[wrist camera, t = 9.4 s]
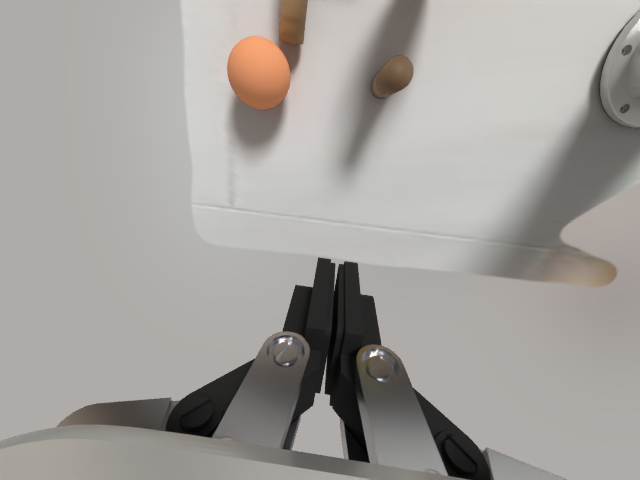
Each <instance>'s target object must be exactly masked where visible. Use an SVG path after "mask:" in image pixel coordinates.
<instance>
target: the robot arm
mask: <svg viewBox="0 0 640 480" xmlns="http://www.w3.org/2000/svg"><path fill="white" fill-rule="evenodd" d="M600 96H601V100H602V105H603V107H604V109H605V111H606V112H607V114H608V115H609V116H610V117H611V118H612V119H613V120H614V121H616V122H618V123H619V124H621V125H624V126H629V127H636V128H640V11H638V12H637V14H636V15H635V16H634V17H633V18H632V19H631V20H630V22H629V23H628V24H627V25H626V26H625V28H624V29H623V30H622V32H621V33H620V35H619V36H618V38H617V39H616V41H615V42H614V44H613V46H612V48H611V50H610V52H609V54H608V56H607V59H606V62H605V65H604V67H603V71H602V76H601V81H600ZM334 279H335V263H331V259H325V258H318V263H317V268H316V274H315V279H314V285H313V287H306V286H299V285H296V286H295V289H294V292H293V296H292V299H291V303H290V307H289V310H288V313H287V317H286V321H285V324H284V328H283V331H282V332H279V333H276V334H273V335H272V336H270V337H269V338H268V339H267V340H266V341H265V342H264V344H263V346H262V347H261V349H260V351H259V353H258V355H257V356H256V358H255V359H253V360H252V361H249V362H248V363H246V364H244V365H242V366H240V367H238V368H237V369H235V370H233V371H231V372H229V373H227V374H225V375H224V376H222V377H220V378H218V379H216V380H215V381H213V382H211V383H209V384H207V385H205V386H203V387H202V388H200V389H198V390H196V391H194V392H192V393H191V394H189V395H187V396H186V397H185V398H183V399H182V400H181V401H172V400H171V398H159V399H147V400H135V401H123V402H112V403H111V402H110V403H98V404H93V405H89V406H85V407H83V408H81V409H79V410H77V411H75V412H73V413H72V414H70V415H69V416H68V417H66V418H65V419H64V420H63V421H61V422H60V424H59V425H58V426H57V427H55V428H50V429H45V430H39V431H34V432H30V433H27V434H23V435H19V436H15V437H11V438H8V439H5V440H2V441H0V480H566V479H565V478H563V477H560V476H558V475H555V474H553V473H550V472H547V471H545V470H542V469H540V468H537V467H535V466H532V465H530V464H527V463H525V462H522V461H520V460H517V459H514V458H512V457H509V456H507V455H505V454H502V453H500V452H497V451H495V450H492V449H489V448H486V449H485V450H481V449H479V448H478V447H477V445H476V444H474V442H473V441H472V440H471V439H470V438H469V437H468V436H467V435H466V434H464V433H463V432H462V431H461V430H460V429H459V428H458V427H457V426H455V425H454V424H453V423H452V422H451V421H450V420H449V419H448V418H446V417H445V416H444V415H443V414H442V413H441V412H440V411H439V410H437V409H436V408H435V407H434V406H433V405H432V404H431V403H430V402H429V401H427V400H426V399H425V398H424V397H423V396H422V395H421V394H420V393H418V392H417V391H416V390H415V389H414V388H413V387H412V385H411V382H410V380H409V377H408V375H407V372H406V370H405V367H404V365H403V363H402V361H401V359H400V358H399V357H398V356H397V355H396V354H395V353H394V352H393V351H391V350H390V349H388V348H386V347H384V346H382V345H381V339H380V334H379V328H378V321H377V315H376V309H375V303H374V298H373V296H368V295H361V294H360V285H359V273H358V264H357V263H353V262H346V261H345V262H344V265H343V264H339V267H338V273H337V279H336V284H335V290H334ZM326 359H327V367H326V381H325V382H326V383H325V394H328V395H330V406H333V409H334V410H335V412H336V413H337V414H338V416H339V417H340V418H341V419H340V428H341V437H342V445H343V453H344V459H341V458H334V457H328V456H322V455H316V454H310V453H303V452H298V451H291V450H292V447H293V443H294V439H295V436H296V433H297V429H298V425H299V422H300V417H301V414H302V413H304V412H305V411H306V410H307V409H309V408H310V407H311V406H313V403H314V397H315V393H320V391H321V385H322V380H323V375H324V369H325V364H326Z"/></svg>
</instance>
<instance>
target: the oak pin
mask: <svg viewBox="0 0 640 480" xmlns="http://www.w3.org/2000/svg"><path fill="white" fill-rule="evenodd" d="M307 1H308V0H281V7H280V28H279V39H280V40H282V41H284V42H287V43H292V44H303V40H304V30H305V21H306V11H307Z"/></svg>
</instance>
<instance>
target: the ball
mask: <svg viewBox="0 0 640 480" xmlns="http://www.w3.org/2000/svg"><path fill="white" fill-rule="evenodd" d="M227 70H228V78H229V81H230V84H231V87H232V89H233V90H234V92H235V94H236V95H237V96H238V97H239V98H240V99H241V100H242V101H243V102H244V103H245V104H247V105H248V106H251V107H253V108H256V109H269V108H273V107H275V106H276V105H278V104H279V103H280V102H281V101H282V100H283V99H284V98H285V96H286V94H287V92H288V89H289V86H290V69H289V65H288V62H287V60H286V57H285V56H284V54H283V52H282V51H281V50H280V49H279V47H278V46H277V45H275V44H274V43H273V42H271V41H270V40H268V39H266V38H263V37H258V36H252V37H247V38H245V39H243V40H241V41H239V42H238V43H237V44H236V45H235V46H234V48H233V49H232V51H231V53H230V56H229V59H228V65H227Z"/></svg>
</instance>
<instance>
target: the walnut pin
mask: <svg viewBox="0 0 640 480" xmlns="http://www.w3.org/2000/svg"><path fill="white" fill-rule="evenodd" d="M412 76H413V65H412V63H411V61H410V60H409V59H408V58H407V57H405V56H402V55H398V56H394V57H392V58H391V59H390V60H389V61H388V62H387V63H386V64H385V65H384V67H383V68H382V69H381V70H380V71H379V73H378V74H377V75H376V76H375V77H374V79H373V81H372V83H371V91H372V93H373V95H374V96H375V97H377V98H385V97H388V96H390V95H392V94H394V93H396V92H398V91H400V90H402V89H404V88H405V87H406V86H407V85H408V84H409V83H410V81H411V79H412Z"/></svg>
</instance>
